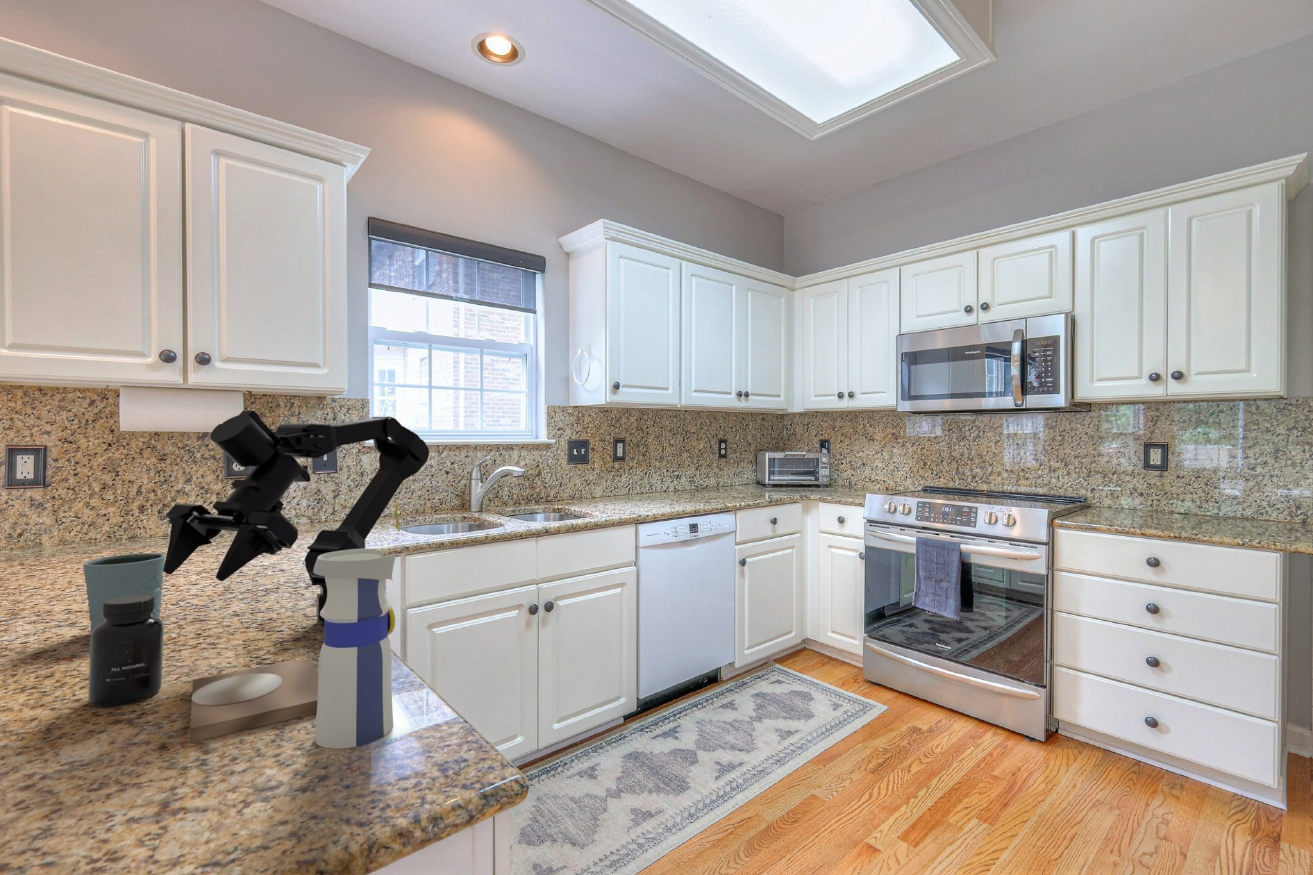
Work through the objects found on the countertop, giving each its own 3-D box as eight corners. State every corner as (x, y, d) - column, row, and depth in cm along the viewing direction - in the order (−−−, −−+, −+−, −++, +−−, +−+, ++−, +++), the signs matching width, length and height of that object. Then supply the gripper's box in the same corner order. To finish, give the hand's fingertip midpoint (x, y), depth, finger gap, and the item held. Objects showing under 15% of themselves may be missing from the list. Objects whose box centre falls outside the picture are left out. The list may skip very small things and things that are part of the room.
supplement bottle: (118, 711, 70) (120, 608, 70) (73, 705, 71) (74, 604, 71) (176, 687, 77) (177, 594, 77) (133, 683, 78) (135, 591, 78)
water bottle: (374, 706, 72) (376, 497, 72) (410, 727, 66) (413, 502, 67) (299, 731, 65) (301, 502, 66) (332, 757, 60) (335, 508, 60)
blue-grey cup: (174, 627, 101) (175, 556, 101) (96, 644, 92) (97, 567, 93) (149, 618, 106) (150, 550, 106) (72, 633, 98) (73, 560, 98)
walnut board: (310, 668, 83) (310, 656, 83) (329, 710, 71) (329, 695, 71) (192, 691, 76) (192, 677, 76) (189, 742, 63) (190, 726, 63)
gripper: (342, 522, 95) (283, 612, 85) (249, 513, 100) (182, 598, 90) (302, 477, 87) (231, 571, 77) (202, 470, 92) (123, 558, 82)
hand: (192, 576), depth 82 cm, fingers open, 9 cm apart
